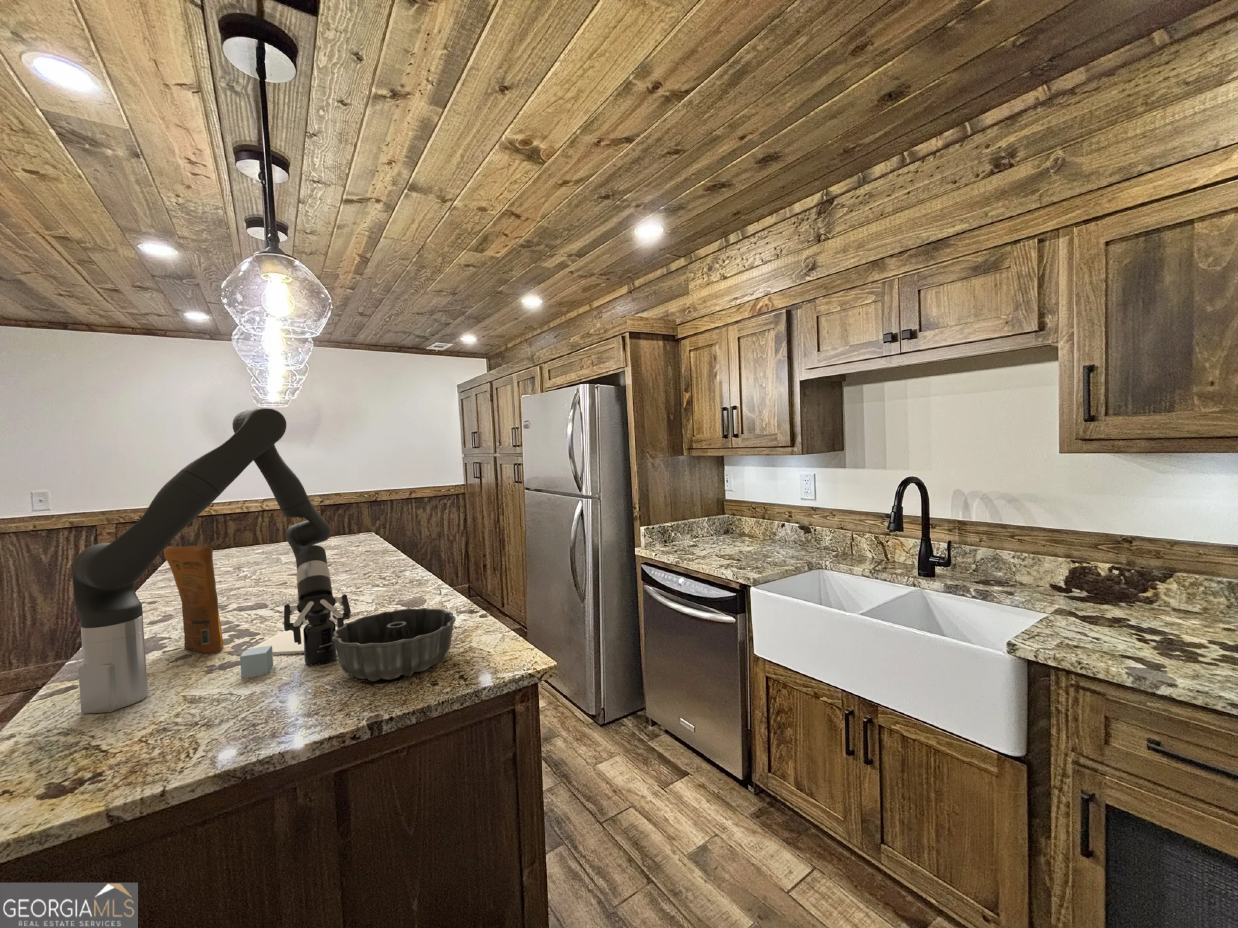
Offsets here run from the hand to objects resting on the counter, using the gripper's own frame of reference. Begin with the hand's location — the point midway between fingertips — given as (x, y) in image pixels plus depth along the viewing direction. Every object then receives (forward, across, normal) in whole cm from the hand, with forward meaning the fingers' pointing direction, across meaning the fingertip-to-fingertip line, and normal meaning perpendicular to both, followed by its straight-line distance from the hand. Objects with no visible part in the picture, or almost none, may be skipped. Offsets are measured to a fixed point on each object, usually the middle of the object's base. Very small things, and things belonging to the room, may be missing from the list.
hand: (320, 638), depth 124 cm
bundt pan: (+15, +15, -6) cm, 22 cm away
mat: (-11, -4, +19) cm, 22 cm away
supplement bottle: (+3, 0, +5) cm, 6 cm away
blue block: (+1, -13, +7) cm, 15 cm away
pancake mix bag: (-19, -26, +28) cm, 42 cm away
